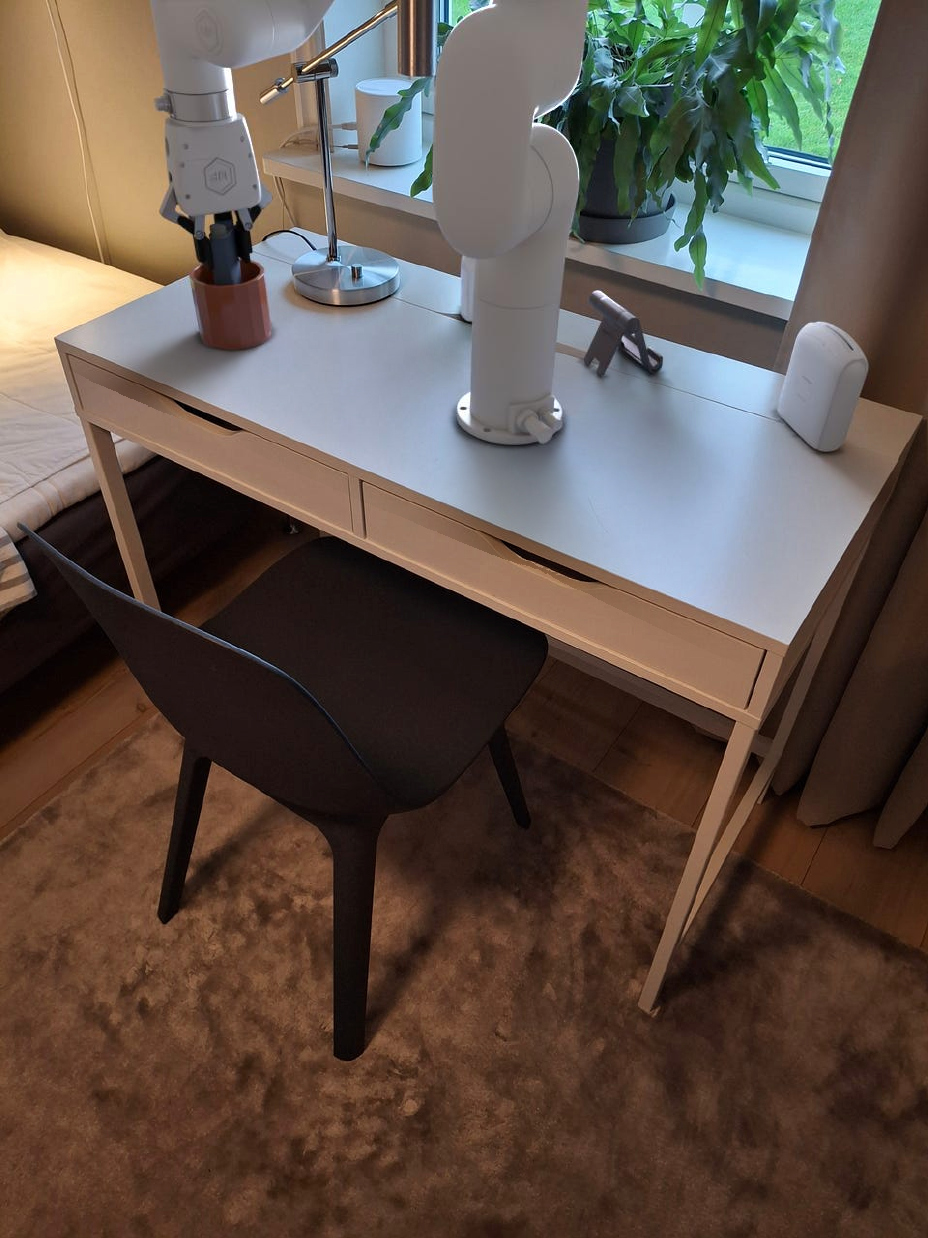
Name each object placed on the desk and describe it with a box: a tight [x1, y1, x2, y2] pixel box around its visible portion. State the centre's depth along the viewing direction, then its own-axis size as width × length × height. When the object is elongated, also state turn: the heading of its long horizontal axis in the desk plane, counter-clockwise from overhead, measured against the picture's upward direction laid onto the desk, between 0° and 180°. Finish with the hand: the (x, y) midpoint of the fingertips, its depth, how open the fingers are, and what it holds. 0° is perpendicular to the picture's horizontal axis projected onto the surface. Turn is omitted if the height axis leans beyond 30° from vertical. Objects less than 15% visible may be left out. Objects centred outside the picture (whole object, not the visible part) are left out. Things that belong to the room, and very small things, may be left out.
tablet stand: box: [583, 290, 664, 377], centre depth 118 cm, size 9×8×8 cm
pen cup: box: [189, 258, 273, 351], centre depth 122 cm, size 9×9×8 cm
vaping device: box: [208, 211, 242, 286], centre depth 116 cm, size 3×5×12 cm, turn 174°
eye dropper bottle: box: [459, 255, 475, 322], centre depth 127 cm, size 4×6×12 cm
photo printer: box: [777, 321, 869, 452], centre depth 106 cm, size 10×4×12 cm, turn 14°
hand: (226, 261), depth 118 cm, fingers closed on vaping device, 4 cm apart
